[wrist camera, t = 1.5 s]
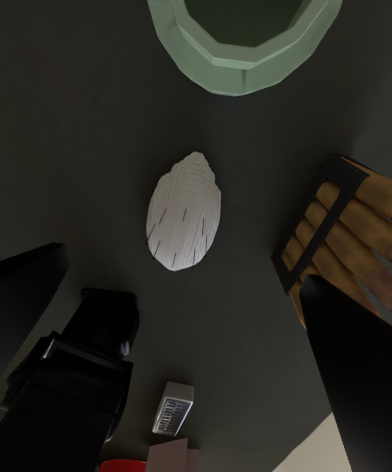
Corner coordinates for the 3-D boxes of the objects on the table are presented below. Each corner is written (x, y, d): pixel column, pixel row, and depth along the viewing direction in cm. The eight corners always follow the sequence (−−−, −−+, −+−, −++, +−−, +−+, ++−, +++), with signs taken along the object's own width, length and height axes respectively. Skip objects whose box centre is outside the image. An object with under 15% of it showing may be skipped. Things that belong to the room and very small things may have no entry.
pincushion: (200, 272, 24) (196, 316, 19) (144, 260, 24) (126, 300, 19) (236, 161, 18) (244, 183, 13) (161, 141, 18) (141, 157, 13)
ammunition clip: (329, 151, 17) (501, 228, 7) (351, 158, 17) (552, 243, 7) (270, 259, 23) (317, 391, 12) (287, 263, 23) (348, 398, 13)
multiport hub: (194, 386, 37) (193, 402, 35) (177, 421, 44) (175, 436, 42) (167, 380, 36) (165, 396, 34) (154, 417, 44) (152, 432, 42)
